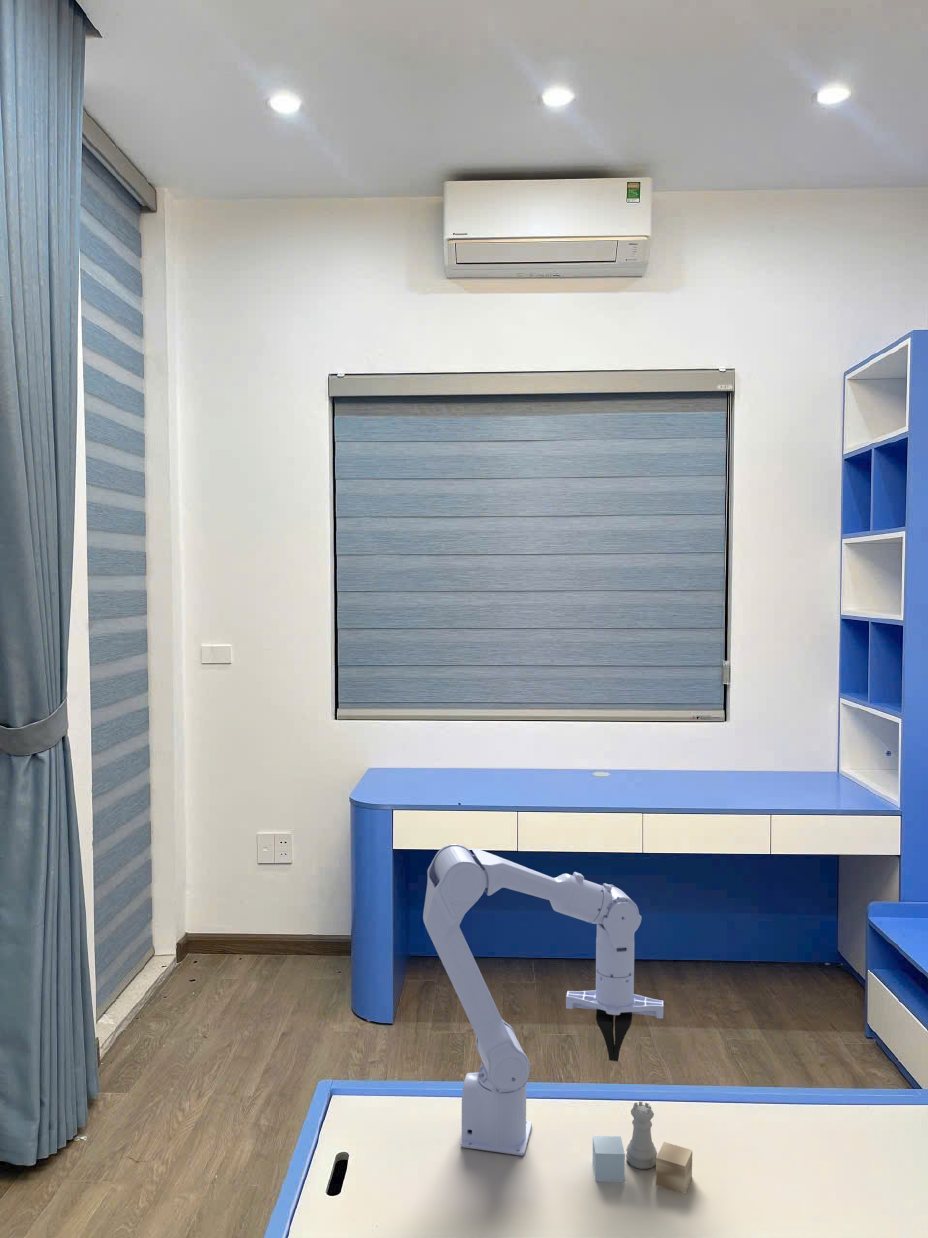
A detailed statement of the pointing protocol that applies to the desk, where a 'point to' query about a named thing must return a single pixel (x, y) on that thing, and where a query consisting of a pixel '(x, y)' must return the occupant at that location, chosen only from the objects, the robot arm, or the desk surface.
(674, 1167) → the beech block
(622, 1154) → the pale blue block
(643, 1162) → the rook chess piece
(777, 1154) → the desk surface
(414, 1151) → the desk surface
